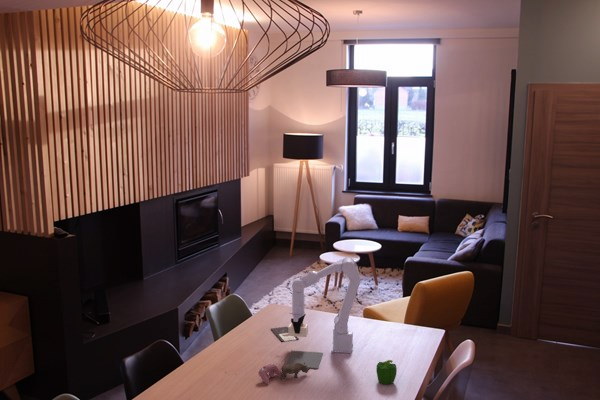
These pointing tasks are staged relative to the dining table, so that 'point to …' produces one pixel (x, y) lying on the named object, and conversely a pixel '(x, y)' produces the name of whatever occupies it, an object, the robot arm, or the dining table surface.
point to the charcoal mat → (305, 358)
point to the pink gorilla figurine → (271, 369)
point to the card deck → (302, 330)
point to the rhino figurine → (293, 369)
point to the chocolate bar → (283, 334)
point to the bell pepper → (386, 372)
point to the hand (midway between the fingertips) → (298, 331)
